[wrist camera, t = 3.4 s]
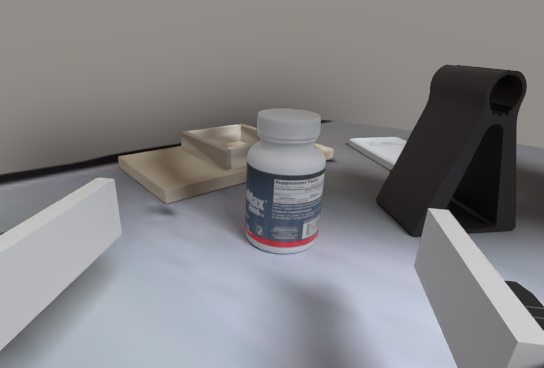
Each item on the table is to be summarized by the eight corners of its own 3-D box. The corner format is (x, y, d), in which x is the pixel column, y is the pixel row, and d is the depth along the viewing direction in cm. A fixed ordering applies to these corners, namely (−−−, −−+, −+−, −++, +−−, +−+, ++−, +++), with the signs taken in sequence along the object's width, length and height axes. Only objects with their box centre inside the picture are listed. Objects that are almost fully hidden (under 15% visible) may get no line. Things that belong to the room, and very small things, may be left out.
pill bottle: (240, 220, 27) (241, 105, 23) (304, 216, 28) (314, 106, 25) (251, 259, 22) (255, 123, 19) (328, 252, 23) (344, 122, 20)
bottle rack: (273, 138, 50) (274, 116, 49) (332, 158, 43) (335, 133, 41) (119, 167, 36) (115, 138, 35) (166, 203, 29) (163, 168, 28)
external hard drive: (397, 180, 38) (347, 148, 49) (458, 176, 40) (397, 146, 51) (400, 166, 38) (348, 137, 49) (462, 163, 40) (399, 135, 51)
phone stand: (411, 237, 26) (450, 68, 21) (375, 202, 31) (400, 62, 27) (514, 231, 27) (571, 73, 23) (462, 199, 33) (500, 66, 28)
